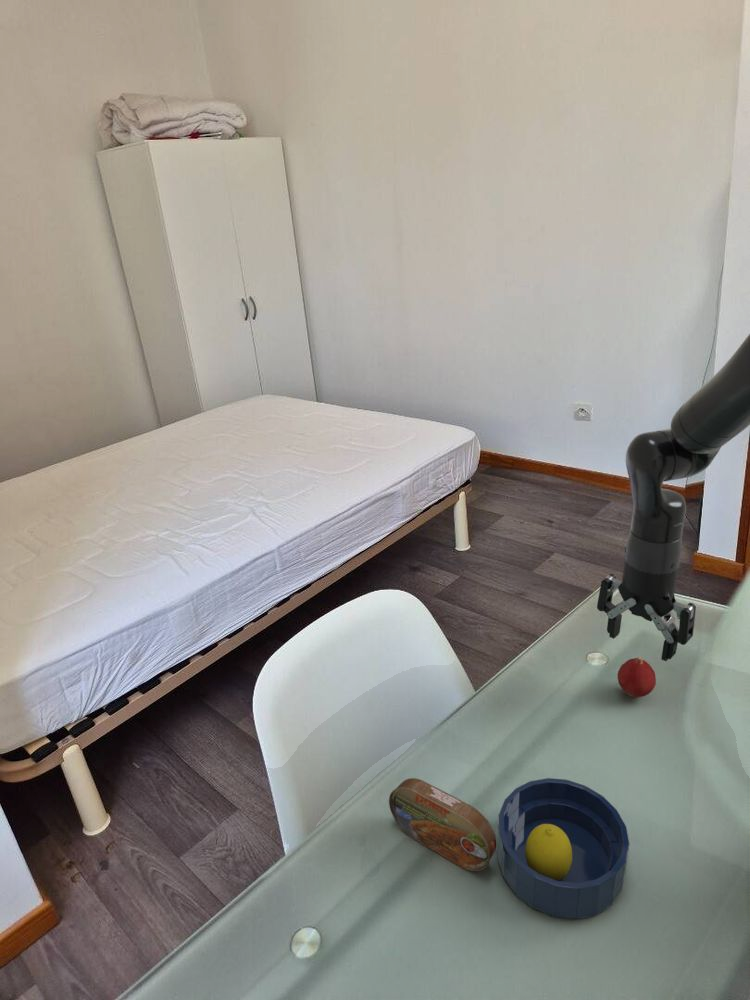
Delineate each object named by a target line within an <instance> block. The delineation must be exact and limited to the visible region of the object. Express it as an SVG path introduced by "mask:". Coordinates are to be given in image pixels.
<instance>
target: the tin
mask: <svg viewBox="0 0 750 1000" xmlns="http://www.w3.org/2000/svg"><path fill="white" fill-rule="evenodd" d="M388 804H389V809H390V813H391V814H392V817H393V819H394V820H395V822H396V824H397V826H398V827H399V828H400V829H401V830H402V831H403V832H404V833H405V834H406V835H407V836H409V837H410V838H411V839H412V840H414V841H416V842H417V843H419V844H421V845H423V846H425V847H426V848H428V849H430V850H431V851H433V852H435V853H436V854H438V855H440V856H441V857H443V858H445V859H446V860H448V861H450V862H452V863H453V864H455V865H457V866H459V867H460V868H462V869H464V870H467V871H471V872H472V871H473V872H480V871H483V870H484V869H486V868H487V867H488V865H489V862H490V861H491V860H492V858H493V857H494V854H495V853H496V850H497V838H496V833H495V829H494V828H493V826H492V824H491V823H490V821H489V820H488V819H487V818H486V817H485V815H483V814H482V812H480V811H479V810H478V809H477V808H475V807H474V806H472V805H470V804H469V803H466V802H465V801H462V800H461V799H459V798H457V797H455V796H454V795H452V794H449V793H448V792H446V791H444V790H442V789H440V788H438V787H436V786H434V785H432V784H430V783H429V782H426V781H425V780H422V779H419V778H413V777H412V778H411V777H410V778H406V779H404V780H403V781H402V782H401V783H400V784H399V785H397V787H396V788H394V789H393V790H392V791H391V792H390V794H389V798H388Z"/></svg>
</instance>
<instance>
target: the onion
mask: <svg viewBox="0 0 750 1000" xmlns="http://www.w3.org/2000/svg"><path fill="white" fill-rule="evenodd" d="M656 677H657V676H656V672H655V670H654V669H653V667H652V666H651V664H650V663H648V661H646V660H644V659H643V658H642V657H640V656H638V657H633V658H630V659H627V660H626V661H624V663H623V664H621V665H620V667H619V669H618V671H617V683H618V685H619V687H620V688H621V690H622V691H623V692H624V693H625V694H627V695H628V696H630V697H631V698H634V699H635V698H642V697H645V696H648V695H649V694H651V693H652V692H653V690H654V689H655V687H656V685H657V678H656Z"/></svg>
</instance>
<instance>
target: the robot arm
mask: <svg viewBox="0 0 750 1000" xmlns="http://www.w3.org/2000/svg"><path fill="white" fill-rule="evenodd" d="M749 426H750V333H749V334H748V335H747V337H746V338H745V339H744V340H743V341H742V343H741V344H740V345H739V347H738V348H737V349H736V351H735V352H734V353H733V354H732V356H730V358H729V359H728V360H727V361H726V362H725V364H723V366H722V367H721V368H720V369H718V371H717V372H716V373H715V374H714V375H713V376H712V377H711V378H710V379H709V380H708V381H706V383H705V384H704V385H702V387H700V388H699V389H698V390H696V392H695V393H693V394H692V395H691V396H690V397H689V398H688V399H687V400H686V401H685V402H683V404H682V405H681V406H680V407H679V408H678V409H677V410H676V411H675V413H674V415H673V416H672V418H671V421H670V428H665V429H659V430H653V431H647V432H643V433H640V434H637V435H636V436H634V437H633V439H632V440H631V441H630V443H629V444H628V446H627V449H626V452H625V467H626V472H627V476H628V482H629V486H630V495H631V500H632V511H631V517H630V528H629V532H628V536H627V539H626V545H625V547H624V561H623V568H622V569H623V570H622V577H621V579H622V580H619V579H617V576H616V575H615V574H614V573H609V574H608V575H607V576H606V577H604V578H603V579H602V580H601V582H600V588H599V592H598V593H599V594H598V597H597V604H596V608H597V610H598V611H599V612H604V613H605V614H606V616H607V625H606V631H607V633H608V634H609V638H610V639H616V638H617V637H618V636H619V635H620V632H621V627H622V617H623V613H625V612H626V611H630V614H631V615H632V616H636V617H641V618H642V619H644V620H646V621H649V622H653V623H654V626H655V627H656V630H658V632H659V631H660V632H661V634H662V636H663V638H664V640H663V645H662V652H661V658H660V660H662V661H664V662H667V661H669V660H672V658H673V657H674V656H675V655H676V654H677V649H678V644H680V645H683V646H685V645H687V643H688V642H689V641H690V640H691V639H692V638H693V636H694V629H695V619H696V609H697V606H696V605H695V604H694V603H693V602H688V603H687V604H684V603H682V602H677V599H676V598H675V593H676V587H677V581H678V575H679V569H680V563H681V556H682V552H683V551H682V549H683V532H684V526H685V521H686V520H685V519H686V513H687V502H686V499H685V498H684V497H683V496H682V495H681V494H680V493H679V492H677V491H674V490H671V489H667V488H663V484H664V482H670V481H675V480H680V479H681V480H682V479H687V478H690V477H693V476H696V475H698V474H700V473H701V472H703V471H705V470H706V469H707V468H708V467H709V466H710V465H711V464H712V462H713V461H714V459H715V458H716V457H717V455H718V453H719V452H720V450H721V448H722V447H723V446H724V445H726V444H727V443H729V442H730V441H732V440H733V439H734V438H735V437H737V436H738V435H739V434H741V433H742V432H744V430H746V429H747V428H748V427H749ZM616 590H618V592H619V594H620V596H621V598H622V600H621V601H619V603H617V604H614V603H612V600H613V596H614V592H615V591H616ZM672 611H673V612H675V614H676V618H675V616H674V614H673V612H672ZM662 617H663V618H662ZM676 619H677V620H679V626H677V623H676Z"/></svg>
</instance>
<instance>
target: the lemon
mask: <svg viewBox="0 0 750 1000" xmlns="http://www.w3.org/2000/svg"><path fill="white" fill-rule="evenodd" d="M525 855H526V861H527V864H528V866H529V867H530V868H531V869H533V870H534V871H535V872H537V873H538V874H541V875H543V876H546V877H549V878H551V879H554V880H556V881H559V880H561V879H562V878H563V877H565V876H566V874H567V873H568V871H569V870H570V867H571V863H572V848H571V844H570V841H569V839H568V837H567V835H566V834H565V833H564V832H563V831H562V830H561V829H560V828H559V827H557V826H555V825H552V824H542V825H539V826H537V827H535V828H534V829H533V830H532V831H531V833H530V835H529V837H528V839H527V842H526V847H525Z"/></svg>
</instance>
